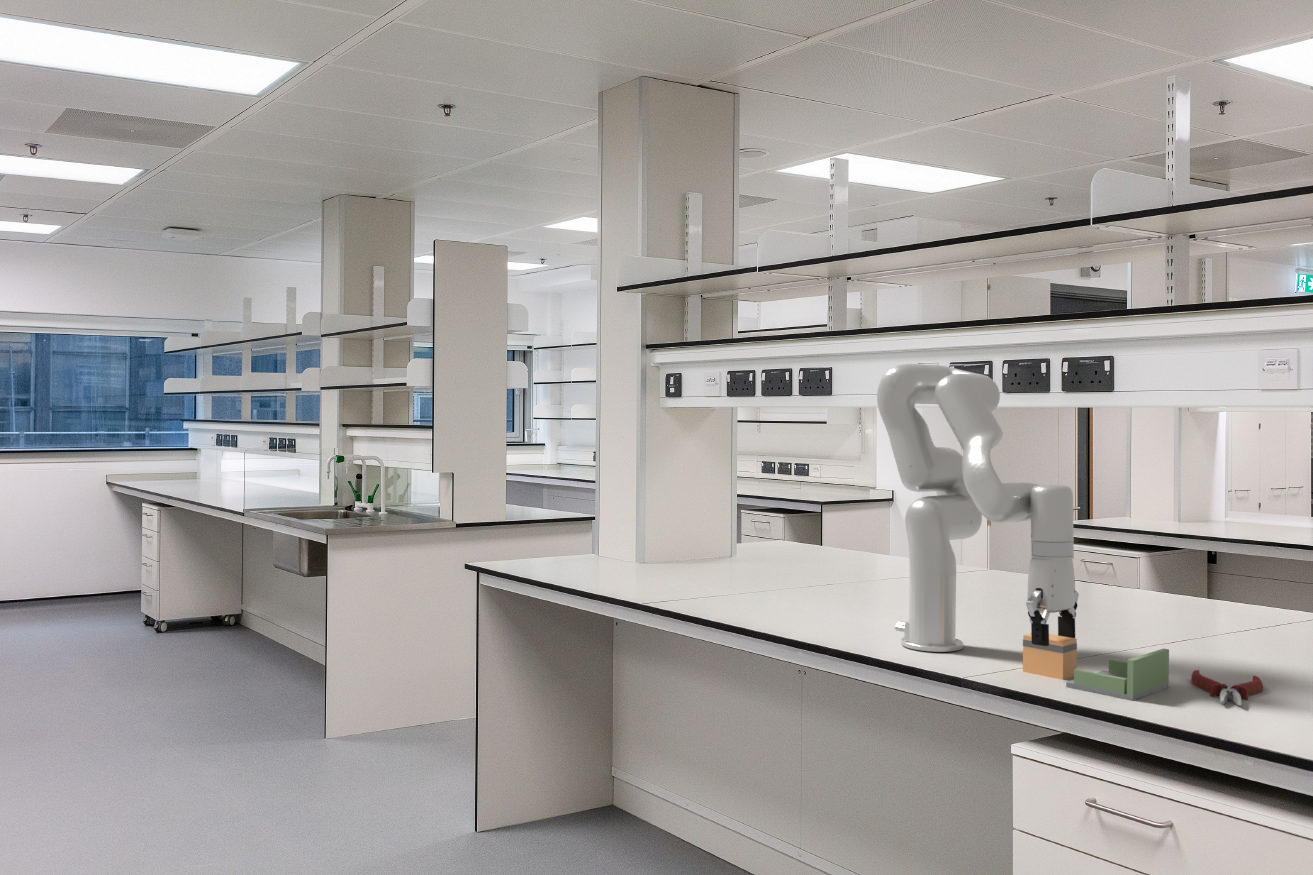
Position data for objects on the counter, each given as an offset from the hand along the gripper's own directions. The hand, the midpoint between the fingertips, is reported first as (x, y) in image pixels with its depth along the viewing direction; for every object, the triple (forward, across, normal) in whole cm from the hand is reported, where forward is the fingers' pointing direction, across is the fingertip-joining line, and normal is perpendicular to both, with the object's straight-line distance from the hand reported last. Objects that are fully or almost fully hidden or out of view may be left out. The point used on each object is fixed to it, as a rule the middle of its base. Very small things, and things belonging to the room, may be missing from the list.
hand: (1053, 641), depth 198 cm
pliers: (+8, -11, +25) cm, 28 cm away
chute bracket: (+7, 0, +12) cm, 14 cm away
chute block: (+6, 0, -1) cm, 6 cm away
